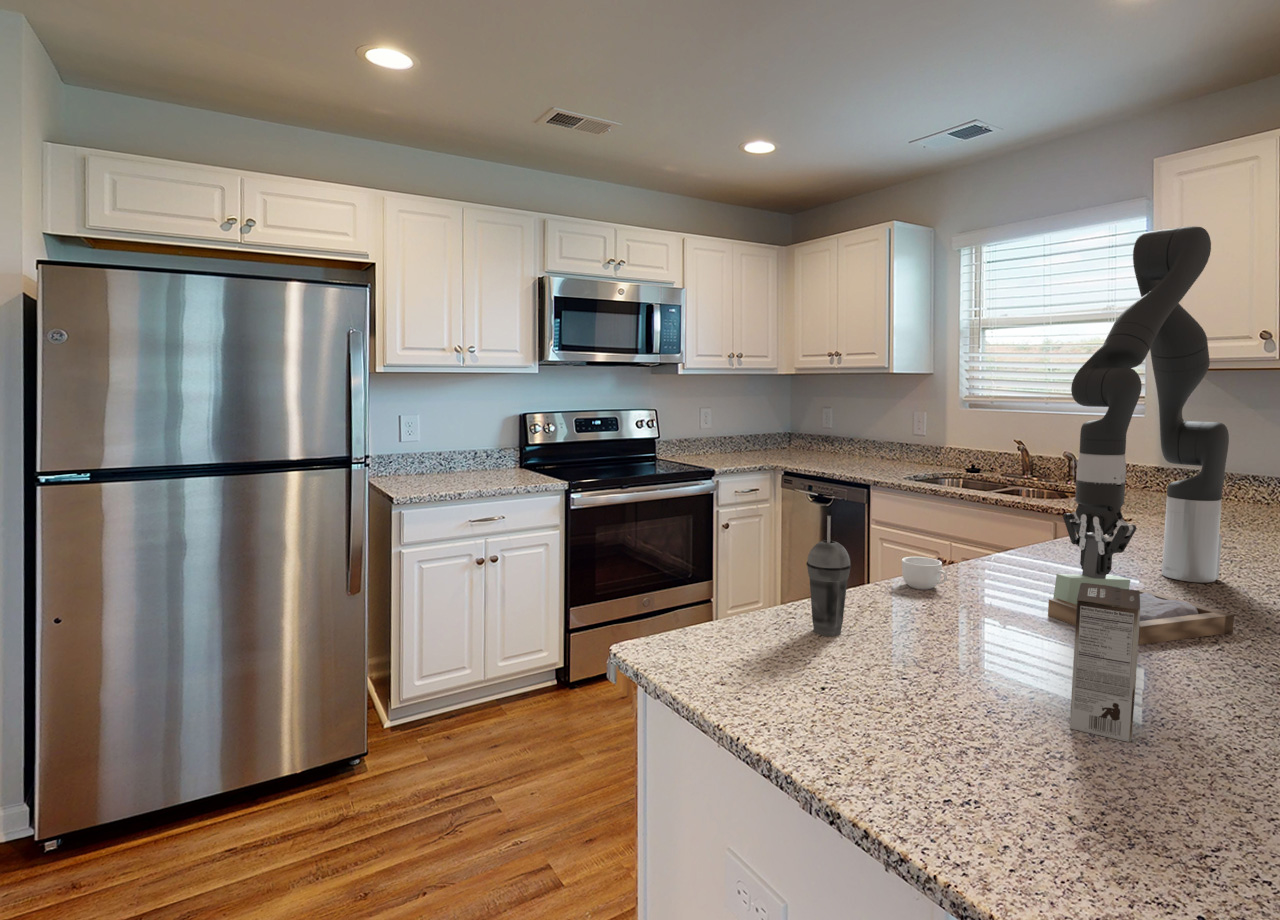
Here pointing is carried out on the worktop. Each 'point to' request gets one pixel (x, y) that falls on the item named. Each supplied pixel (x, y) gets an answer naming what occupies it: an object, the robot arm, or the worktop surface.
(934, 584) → the teacup
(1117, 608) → the coffee box
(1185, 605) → the stone block
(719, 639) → the worktop surface
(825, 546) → the beverage cup
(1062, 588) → the board
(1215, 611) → the wooden u-shaped frame
